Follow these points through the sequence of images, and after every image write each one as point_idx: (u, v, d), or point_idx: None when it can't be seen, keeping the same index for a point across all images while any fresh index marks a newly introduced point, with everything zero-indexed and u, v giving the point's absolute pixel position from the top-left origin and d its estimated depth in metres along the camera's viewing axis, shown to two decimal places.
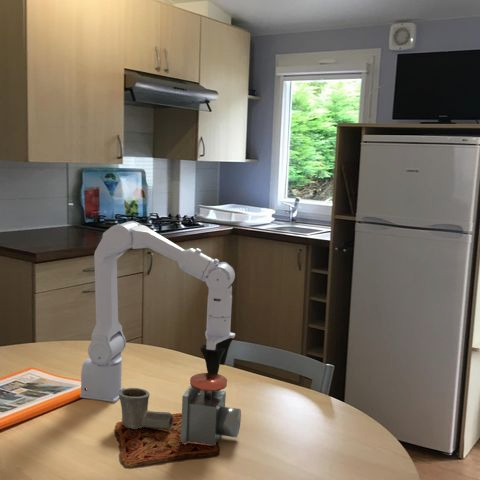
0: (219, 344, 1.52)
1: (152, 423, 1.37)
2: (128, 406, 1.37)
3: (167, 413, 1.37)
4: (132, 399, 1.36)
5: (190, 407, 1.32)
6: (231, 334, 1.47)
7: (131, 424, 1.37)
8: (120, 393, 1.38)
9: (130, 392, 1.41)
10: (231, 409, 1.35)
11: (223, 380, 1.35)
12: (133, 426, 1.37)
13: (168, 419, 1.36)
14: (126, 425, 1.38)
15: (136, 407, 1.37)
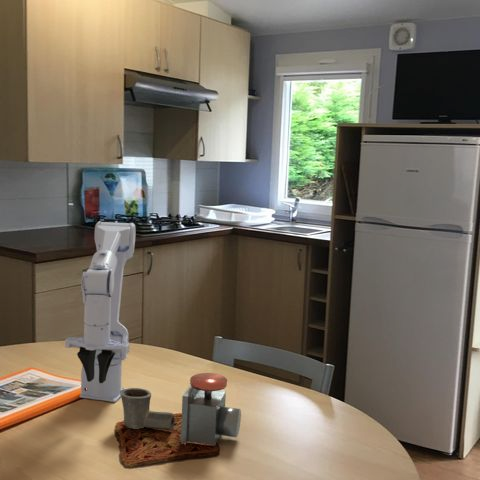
0: None
1: (154, 424, 1.37)
2: (130, 406, 1.37)
3: (169, 413, 1.37)
4: (134, 399, 1.36)
5: (190, 407, 1.32)
6: (89, 346, 1.36)
7: (133, 424, 1.37)
8: (122, 393, 1.38)
9: (132, 392, 1.41)
10: (231, 409, 1.35)
11: (223, 380, 1.35)
12: (135, 426, 1.37)
13: (170, 419, 1.36)
14: (128, 425, 1.38)
15: (138, 407, 1.36)
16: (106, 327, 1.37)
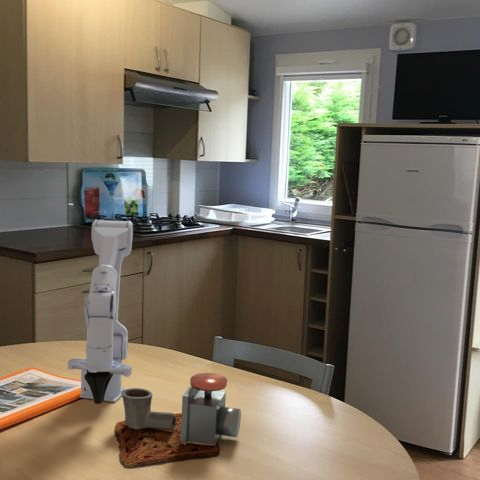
0: None
1: (155, 424, 1.37)
2: (131, 406, 1.37)
3: (170, 413, 1.37)
4: (135, 399, 1.36)
5: (190, 407, 1.32)
6: (92, 368, 1.36)
7: (134, 424, 1.37)
8: (123, 393, 1.38)
9: (133, 392, 1.41)
10: (231, 409, 1.35)
11: (223, 380, 1.35)
12: (136, 426, 1.37)
13: (171, 419, 1.36)
14: (129, 425, 1.38)
15: (139, 407, 1.36)
16: (108, 349, 1.37)
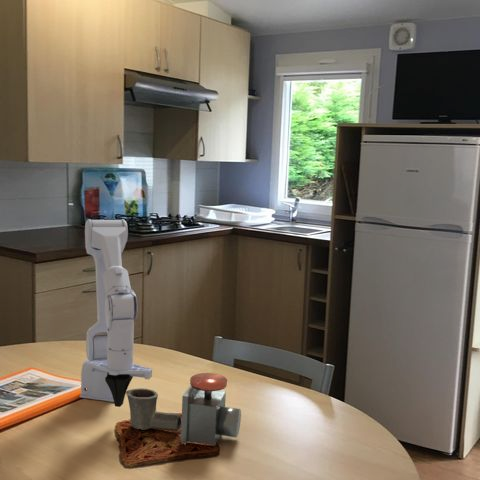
0: None
1: (160, 424, 1.37)
2: (136, 407, 1.36)
3: (175, 414, 1.37)
4: (140, 400, 1.36)
5: (190, 407, 1.32)
6: (112, 370, 1.35)
7: (140, 424, 1.37)
8: (128, 394, 1.38)
9: (138, 393, 1.40)
10: (231, 409, 1.35)
11: (223, 380, 1.35)
12: (141, 427, 1.37)
13: (176, 420, 1.36)
14: (134, 426, 1.38)
15: (144, 408, 1.36)
16: (129, 352, 1.36)
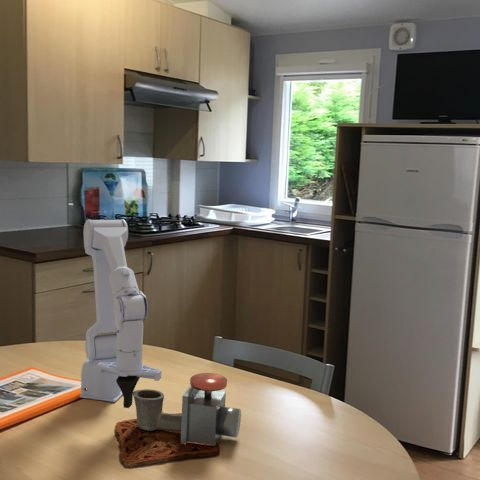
0: None
1: (167, 425, 1.36)
2: (142, 407, 1.36)
3: (181, 415, 1.37)
4: (146, 401, 1.35)
5: (190, 407, 1.32)
6: (122, 372, 1.35)
7: (146, 425, 1.37)
8: (135, 394, 1.37)
9: (145, 393, 1.40)
10: (231, 409, 1.35)
11: (223, 380, 1.35)
12: (148, 428, 1.37)
13: None
14: (140, 427, 1.37)
15: (150, 409, 1.36)
16: (139, 353, 1.36)
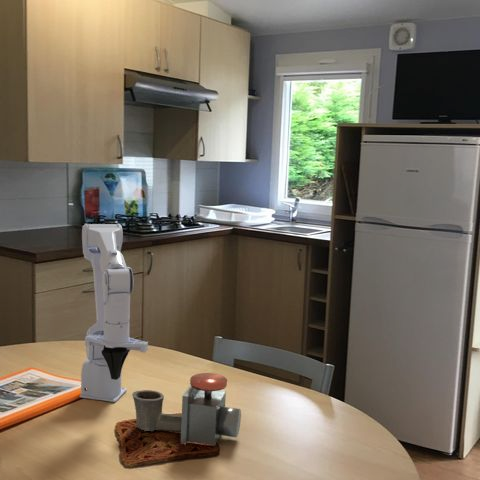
0: None
1: (167, 426, 1.36)
2: (142, 408, 1.36)
3: None
4: (146, 401, 1.35)
5: (190, 407, 1.32)
6: (109, 343, 1.38)
7: (146, 426, 1.36)
8: (134, 395, 1.37)
9: (144, 394, 1.40)
10: (231, 409, 1.35)
11: (223, 380, 1.35)
12: (148, 428, 1.37)
13: None
14: (140, 428, 1.37)
15: (150, 409, 1.36)
16: (125, 325, 1.39)
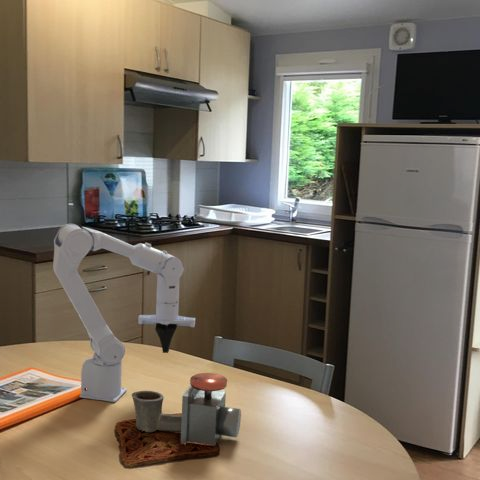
0: None
1: (167, 426, 1.36)
2: (142, 409, 1.35)
3: None
4: (147, 402, 1.35)
5: (190, 407, 1.32)
6: (163, 321, 1.57)
7: (146, 427, 1.36)
8: (134, 396, 1.37)
9: (144, 395, 1.40)
10: (231, 409, 1.35)
11: (223, 380, 1.35)
12: (148, 429, 1.36)
13: None
14: (140, 428, 1.37)
15: (150, 410, 1.35)
16: (177, 304, 1.59)
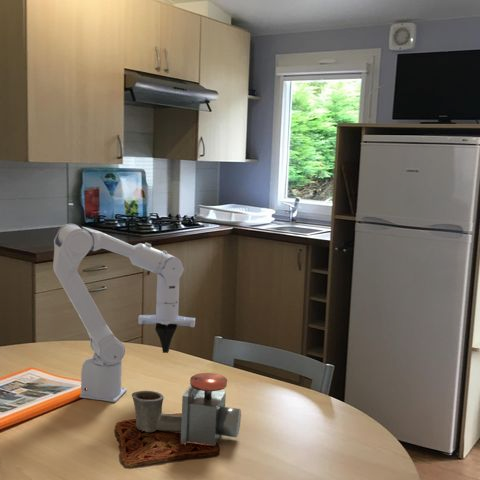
0: None
1: (167, 426, 1.36)
2: (142, 409, 1.35)
3: None
4: (147, 402, 1.35)
5: (190, 407, 1.32)
6: (163, 321, 1.57)
7: (146, 427, 1.36)
8: (134, 396, 1.37)
9: (144, 395, 1.40)
10: (231, 409, 1.35)
11: (223, 380, 1.35)
12: (148, 429, 1.36)
13: None
14: (140, 428, 1.37)
15: (150, 410, 1.35)
16: (177, 304, 1.59)
